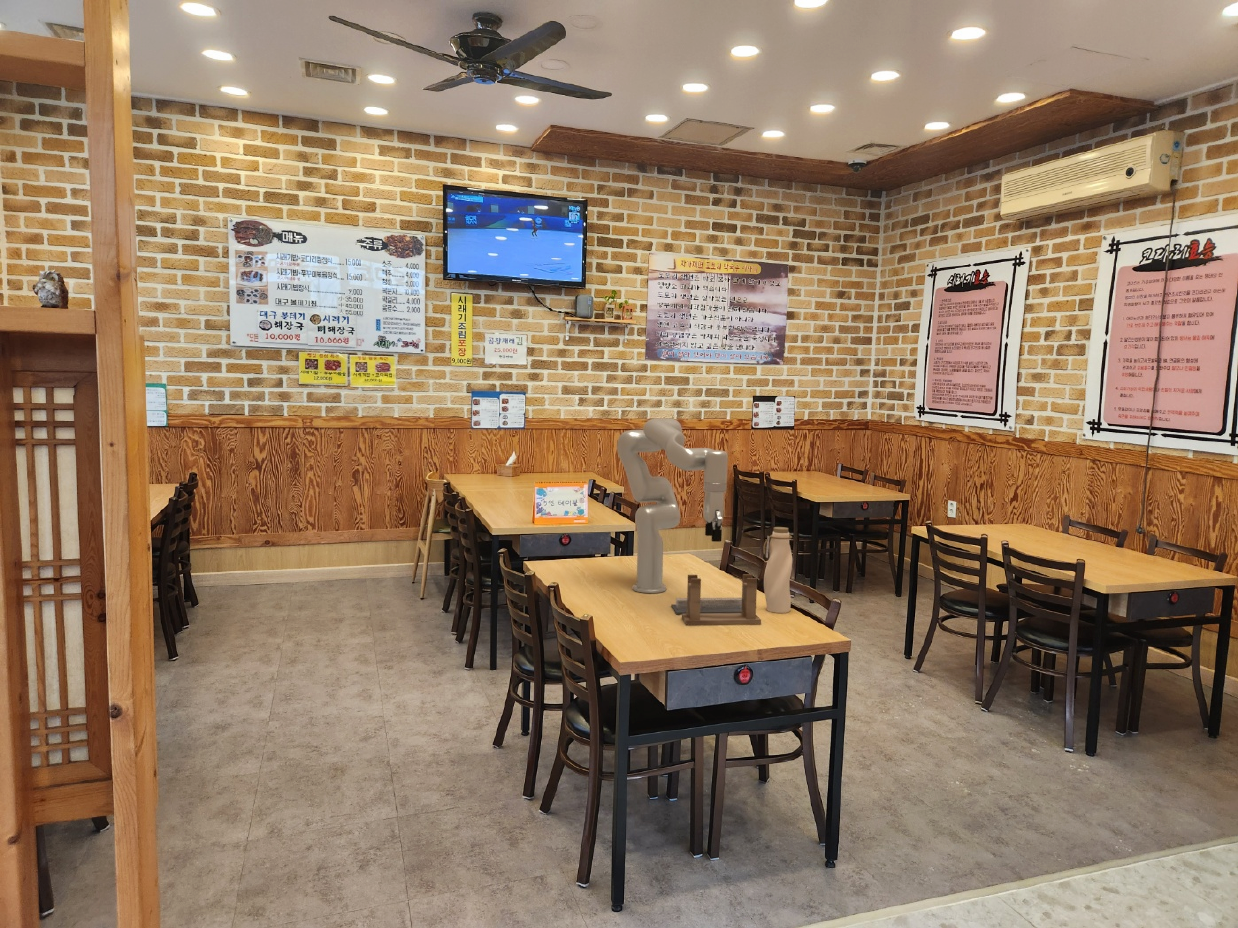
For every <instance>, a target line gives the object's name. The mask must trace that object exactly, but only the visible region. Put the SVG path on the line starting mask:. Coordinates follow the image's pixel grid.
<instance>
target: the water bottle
mask: <svg viewBox="0 0 1238 928" xmlns="http://www.w3.org/2000/svg"><path fill="white" fill-rule="evenodd" d="M792 538H793V536H792V535H791V534H790V532H789V527H783V526H775V527H773V531H772V534H770V536H769V535H767V539H766V540H765V541H764V543H763V547H762V550H763V551H762V552H763V555H765V558H766V559H768V560H767V563H766V565H765V566H766V567H765V569H764V575H763V591H764V596H765V597H764V598H765V603H766V611H768V612H769V613H770V612H771V613H774V614H776V613H777V614H786V613H789V612H791V604H792V603H791V602H792V600H791V599H792V597H791V592H790V591H791V590H790V581H791V575H792V570H793V554H792V549H791V545H790V539H792Z"/></svg>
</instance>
